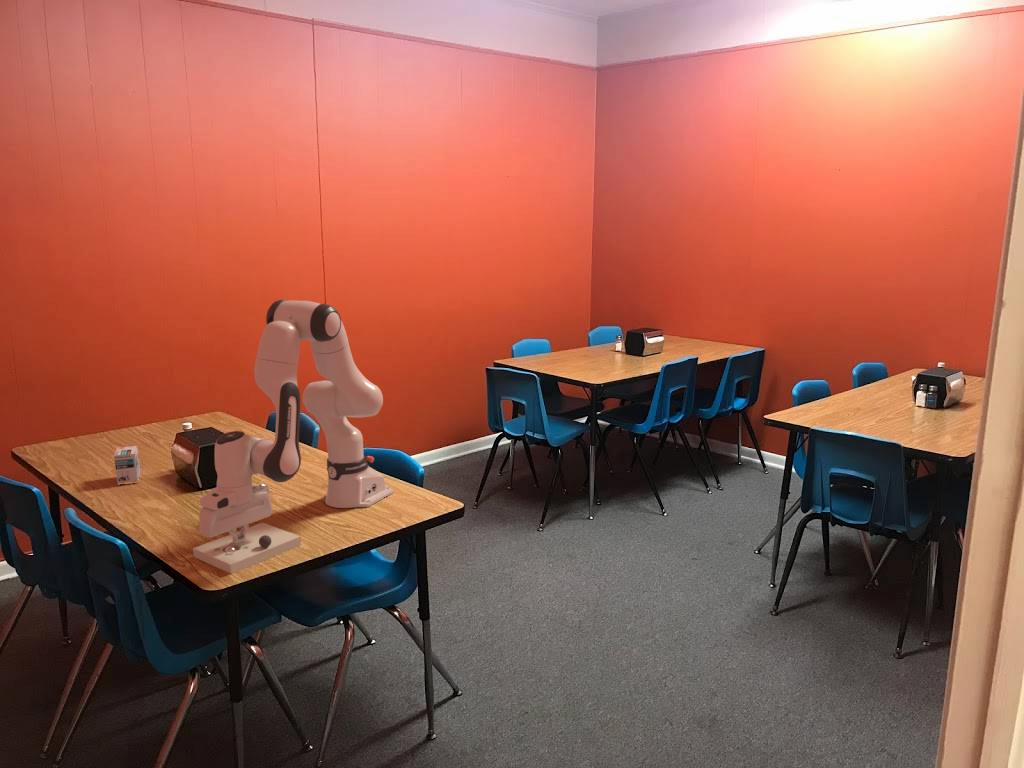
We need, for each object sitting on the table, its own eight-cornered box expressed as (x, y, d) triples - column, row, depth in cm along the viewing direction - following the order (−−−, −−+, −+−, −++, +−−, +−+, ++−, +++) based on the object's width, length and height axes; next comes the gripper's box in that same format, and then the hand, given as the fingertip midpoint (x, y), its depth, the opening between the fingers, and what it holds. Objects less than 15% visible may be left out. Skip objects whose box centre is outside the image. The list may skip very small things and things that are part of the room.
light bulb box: (138, 483, 265) (135, 453, 263) (116, 486, 263) (113, 455, 260) (140, 474, 275) (137, 445, 273) (119, 476, 272) (116, 447, 270)
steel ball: (233, 552, 209) (230, 542, 208) (240, 555, 207) (237, 545, 206) (223, 558, 207) (220, 548, 206) (230, 562, 205) (227, 551, 204)
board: (263, 530, 225) (262, 522, 224) (301, 544, 215) (300, 536, 214) (193, 556, 208) (192, 548, 207) (231, 573, 198) (230, 564, 197)
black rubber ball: (266, 543, 210) (266, 532, 209) (274, 546, 208) (273, 535, 207) (256, 547, 207) (255, 536, 207) (264, 550, 206) (263, 539, 205)
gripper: (261, 480, 216) (264, 526, 218) (193, 501, 200) (198, 551, 202) (275, 484, 212) (278, 531, 215) (207, 506, 196) (212, 557, 199)
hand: (239, 541), depth 208 cm, fingers closed
